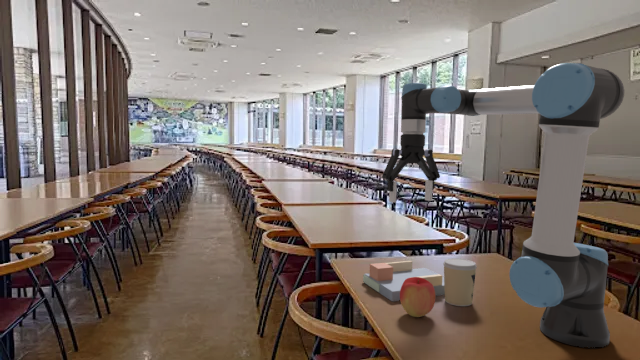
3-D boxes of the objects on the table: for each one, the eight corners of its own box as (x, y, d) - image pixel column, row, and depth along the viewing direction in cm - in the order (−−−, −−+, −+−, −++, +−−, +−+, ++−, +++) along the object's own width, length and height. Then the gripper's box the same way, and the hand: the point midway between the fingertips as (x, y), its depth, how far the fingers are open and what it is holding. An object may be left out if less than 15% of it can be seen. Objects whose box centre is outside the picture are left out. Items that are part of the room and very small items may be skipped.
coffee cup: (479, 307, 127) (481, 266, 126) (447, 307, 127) (448, 266, 126) (468, 296, 136) (470, 258, 136) (438, 296, 136) (439, 257, 136)
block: (392, 279, 142) (393, 267, 141) (377, 281, 140) (378, 268, 139) (384, 274, 147) (384, 262, 146) (369, 275, 145) (369, 263, 144)
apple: (392, 310, 124) (393, 275, 123) (421, 307, 127) (423, 273, 126) (411, 324, 115) (412, 287, 114) (441, 320, 118) (443, 283, 117)
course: (458, 292, 140) (459, 274, 139) (391, 301, 131) (392, 281, 130) (424, 275, 156) (425, 259, 156) (363, 282, 147) (363, 264, 147)
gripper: (437, 134, 147) (435, 198, 149) (372, 133, 137) (370, 201, 139) (452, 134, 140) (450, 201, 142) (385, 132, 130) (383, 204, 132)
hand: (410, 201), depth 140 cm, fingers open, 13 cm apart
